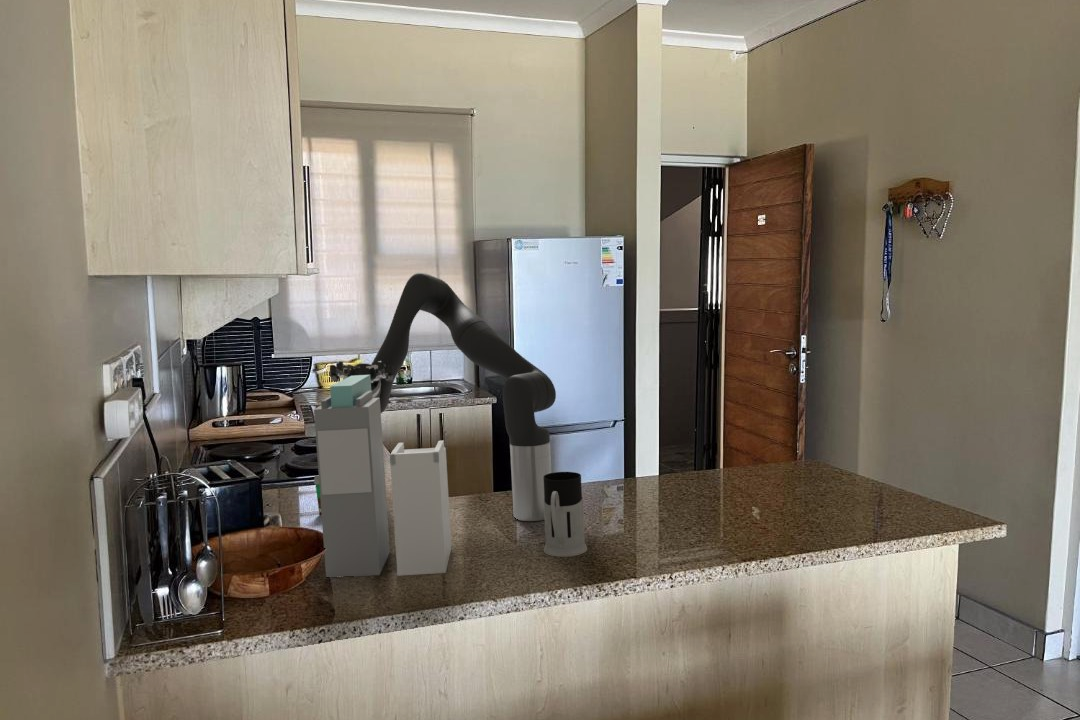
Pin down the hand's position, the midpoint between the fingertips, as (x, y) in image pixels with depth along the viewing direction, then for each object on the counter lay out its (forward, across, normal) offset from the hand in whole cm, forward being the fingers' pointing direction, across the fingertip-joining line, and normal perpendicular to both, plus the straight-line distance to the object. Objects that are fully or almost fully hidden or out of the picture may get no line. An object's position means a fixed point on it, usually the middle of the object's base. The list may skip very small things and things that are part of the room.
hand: (360, 365), depth 180 cm
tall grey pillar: (+11, +2, +43) cm, 45 cm away
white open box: (+13, +14, +43) cm, 47 cm away
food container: (-31, -6, +29) cm, 43 cm away
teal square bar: (+18, 0, +12) cm, 21 cm away
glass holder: (+17, +41, +43) cm, 62 cm away
